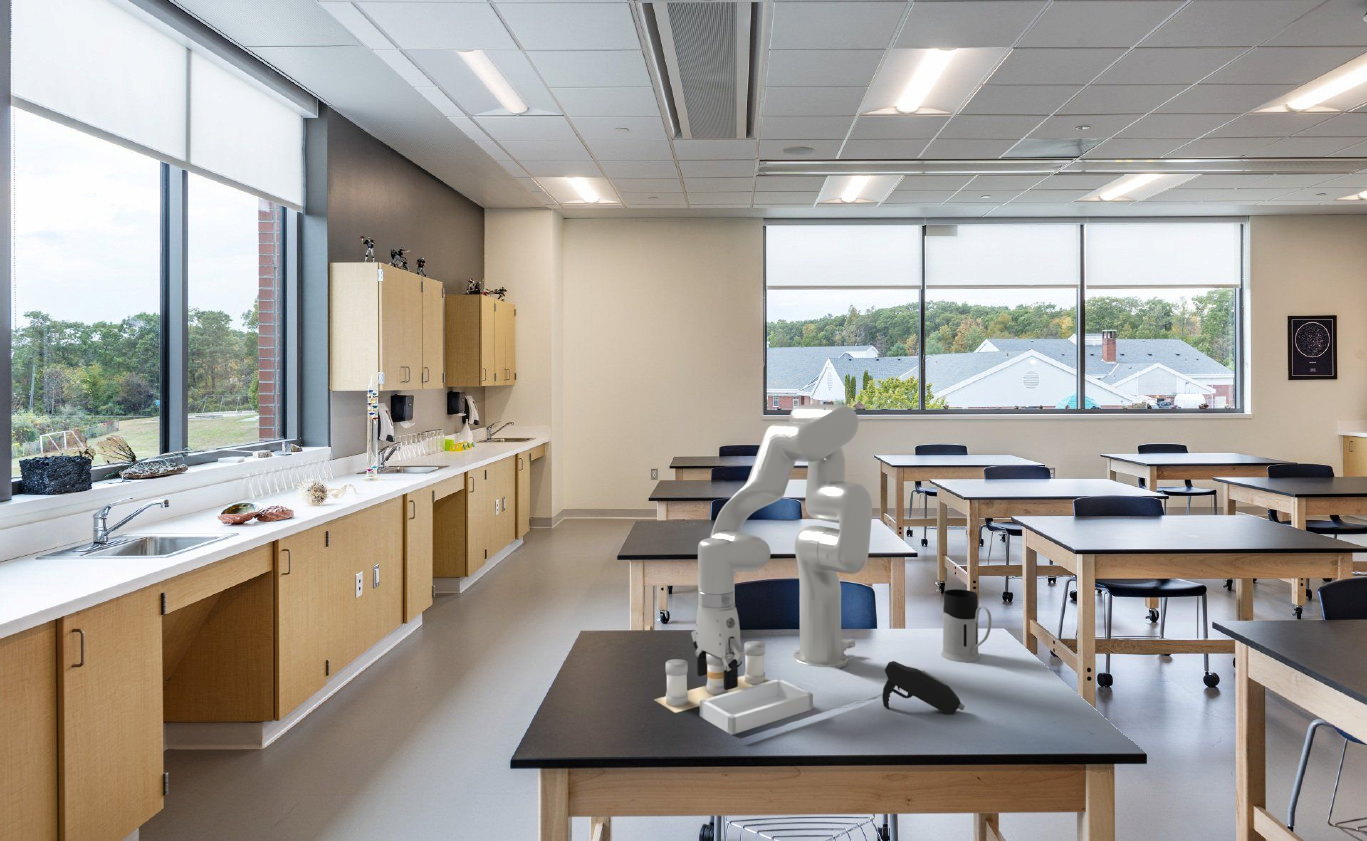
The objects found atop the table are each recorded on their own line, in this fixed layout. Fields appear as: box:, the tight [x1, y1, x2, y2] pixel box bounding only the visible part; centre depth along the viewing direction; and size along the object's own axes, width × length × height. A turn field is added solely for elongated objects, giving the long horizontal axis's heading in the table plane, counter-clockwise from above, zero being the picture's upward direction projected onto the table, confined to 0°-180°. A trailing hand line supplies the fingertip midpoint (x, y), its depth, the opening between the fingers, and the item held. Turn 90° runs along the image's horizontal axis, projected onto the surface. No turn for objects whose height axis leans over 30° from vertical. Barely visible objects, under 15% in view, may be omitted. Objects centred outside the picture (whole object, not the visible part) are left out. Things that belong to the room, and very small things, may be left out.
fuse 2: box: [743, 640, 766, 685], centre depth 167 cm, size 4×4×8 cm
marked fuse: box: [706, 652, 729, 696], centre depth 162 cm, size 4×4×8 cm
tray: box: [699, 678, 814, 736], centre depth 151 cm, size 20×10×4 cm, turn 124°
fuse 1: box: [665, 658, 689, 707], centre depth 156 cm, size 4×4×8 cm
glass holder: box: [940, 588, 992, 663], centre depth 182 cm, size 9×14×15 cm, turn 21°
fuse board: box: [653, 674, 772, 714], centre depth 162 cm, size 26×8×1 cm, turn 124°
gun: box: [881, 660, 966, 716], centre depth 154 cm, size 3×16×10 cm, turn 79°
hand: (717, 681), depth 162 cm, fingers open, 8 cm apart
